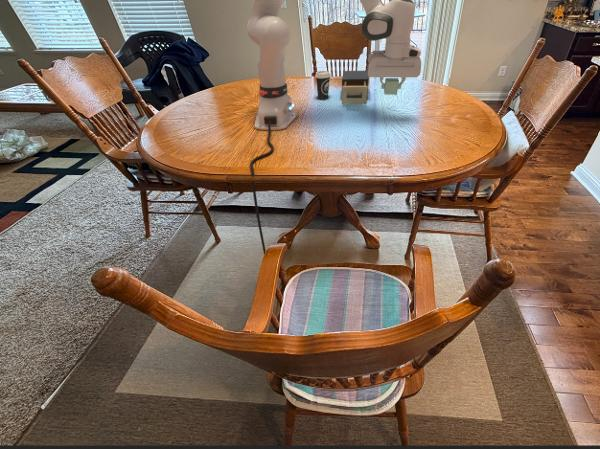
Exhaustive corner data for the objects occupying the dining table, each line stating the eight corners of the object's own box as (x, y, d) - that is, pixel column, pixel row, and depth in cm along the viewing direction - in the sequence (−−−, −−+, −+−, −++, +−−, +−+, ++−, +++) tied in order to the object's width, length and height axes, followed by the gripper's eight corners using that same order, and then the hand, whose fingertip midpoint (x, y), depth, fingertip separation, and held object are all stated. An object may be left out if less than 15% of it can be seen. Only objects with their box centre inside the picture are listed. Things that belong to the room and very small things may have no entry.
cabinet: (367, 99, 150) (368, 78, 144) (341, 99, 152) (341, 79, 146) (366, 90, 161) (368, 70, 155) (342, 90, 163) (343, 70, 157)
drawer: (366, 107, 140) (367, 89, 135) (341, 107, 142) (341, 90, 136) (366, 94, 153) (367, 77, 148) (343, 94, 155) (343, 78, 150)
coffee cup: (328, 94, 159) (329, 69, 152) (331, 99, 154) (332, 73, 146) (314, 96, 159) (313, 71, 151) (316, 100, 153) (316, 75, 145)
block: (396, 94, 123) (399, 81, 119) (384, 94, 123) (386, 81, 120) (396, 90, 126) (398, 78, 123) (383, 90, 127) (385, 78, 124)
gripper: (368, 52, 114) (365, 90, 123) (425, 51, 111) (417, 91, 120) (368, 48, 119) (365, 86, 128) (423, 48, 116) (415, 86, 125)
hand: (390, 88), depth 124 cm, fingers closed on block, 5 cm apart
